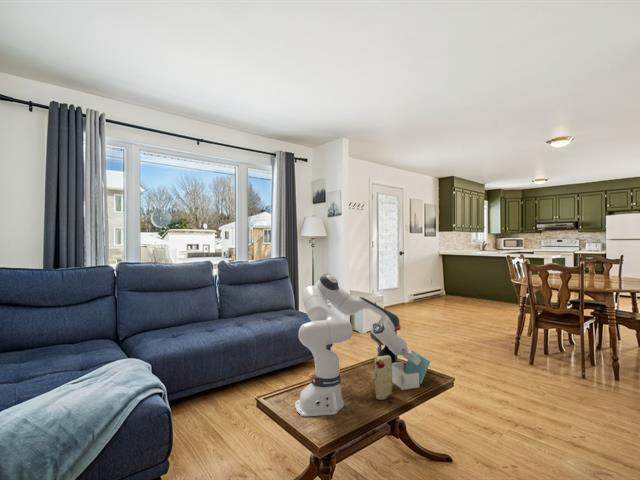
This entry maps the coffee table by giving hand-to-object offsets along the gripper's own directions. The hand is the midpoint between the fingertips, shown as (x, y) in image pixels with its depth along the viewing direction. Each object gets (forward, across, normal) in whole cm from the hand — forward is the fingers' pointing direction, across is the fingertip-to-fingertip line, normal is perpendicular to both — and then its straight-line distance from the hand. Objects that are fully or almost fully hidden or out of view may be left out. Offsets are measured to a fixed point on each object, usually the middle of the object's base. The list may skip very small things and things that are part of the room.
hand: (415, 362), depth 176 cm
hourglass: (+1, +20, +12) cm, 23 cm away
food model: (-12, -14, +24) cm, 30 cm away
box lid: (+2, 0, +7) cm, 8 cm away
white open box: (0, 0, +12) cm, 12 cm away
